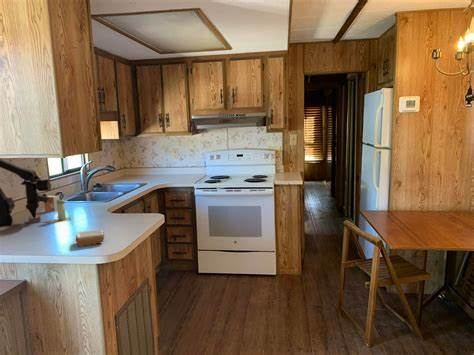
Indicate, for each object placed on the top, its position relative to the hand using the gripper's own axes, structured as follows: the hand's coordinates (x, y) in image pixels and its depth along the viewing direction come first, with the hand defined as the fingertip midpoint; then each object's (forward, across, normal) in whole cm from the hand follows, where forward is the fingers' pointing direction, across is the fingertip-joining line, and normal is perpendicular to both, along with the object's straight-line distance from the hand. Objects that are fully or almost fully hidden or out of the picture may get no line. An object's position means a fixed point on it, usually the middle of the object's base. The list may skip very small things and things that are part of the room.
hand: (34, 217), depth 211 cm
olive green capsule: (+2, -5, -15) cm, 16 cm away
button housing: (+3, 0, 0) cm, 3 cm away
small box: (+4, +29, -10) cm, 31 cm away
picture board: (+3, -1, -14) cm, 14 cm away
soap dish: (+4, -61, -26) cm, 67 cm away
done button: (+2, 0, 0) cm, 2 cm away
